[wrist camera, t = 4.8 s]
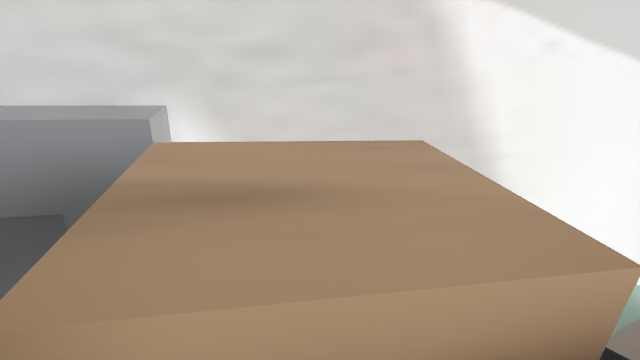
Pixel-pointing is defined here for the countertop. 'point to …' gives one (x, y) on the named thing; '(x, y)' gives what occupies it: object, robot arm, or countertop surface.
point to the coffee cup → (628, 329)
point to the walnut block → (315, 263)
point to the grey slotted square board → (62, 171)
